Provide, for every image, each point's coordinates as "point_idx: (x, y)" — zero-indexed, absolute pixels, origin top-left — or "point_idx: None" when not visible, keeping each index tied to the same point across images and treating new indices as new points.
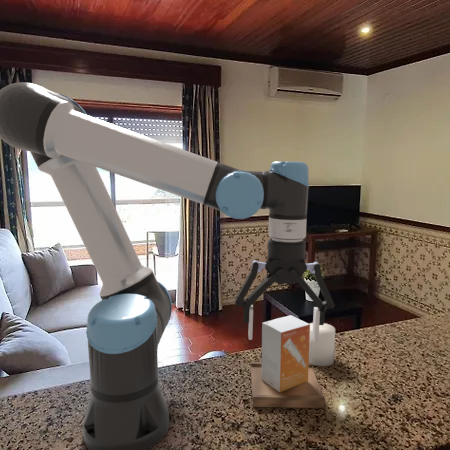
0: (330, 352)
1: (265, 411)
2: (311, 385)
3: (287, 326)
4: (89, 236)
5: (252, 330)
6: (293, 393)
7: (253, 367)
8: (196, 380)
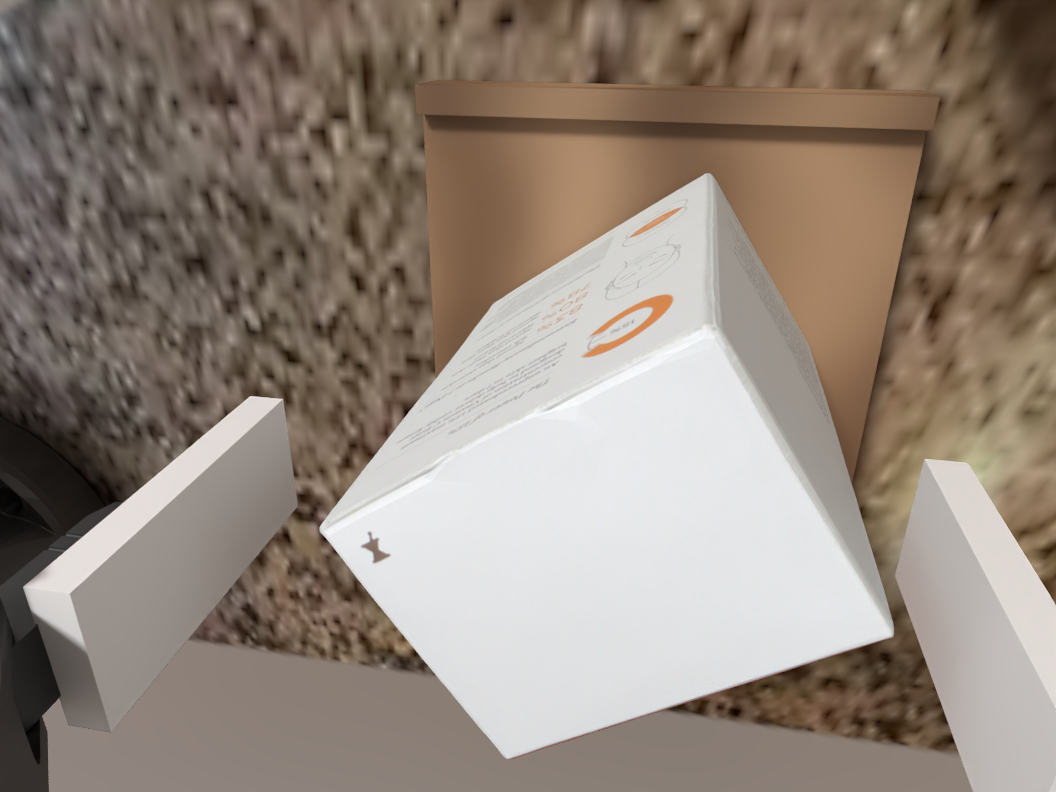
0: None
1: None
2: None
3: (590, 664)
4: None
5: (253, 557)
6: None
7: (441, 132)
8: (123, 207)
